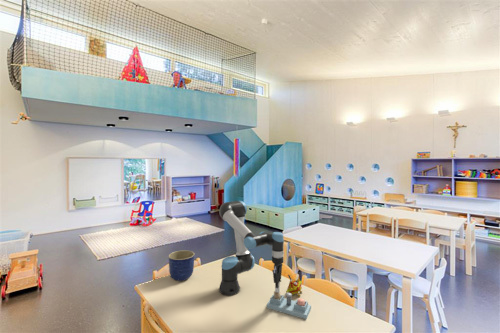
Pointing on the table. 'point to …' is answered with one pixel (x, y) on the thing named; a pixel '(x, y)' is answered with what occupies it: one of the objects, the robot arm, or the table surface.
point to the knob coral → (301, 302)
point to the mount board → (289, 307)
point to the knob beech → (277, 295)
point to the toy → (294, 286)
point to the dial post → (288, 299)
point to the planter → (181, 264)
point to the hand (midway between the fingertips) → (277, 291)
